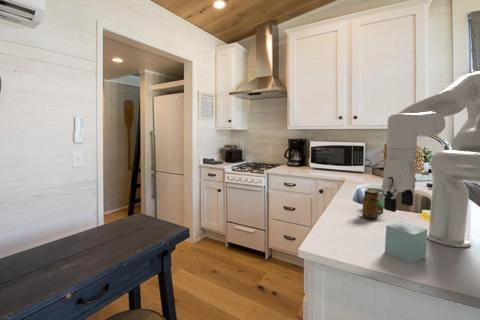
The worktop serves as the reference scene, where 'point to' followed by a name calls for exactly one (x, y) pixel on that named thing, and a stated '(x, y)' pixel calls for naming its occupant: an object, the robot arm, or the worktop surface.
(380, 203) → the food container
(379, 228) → the worktop surface
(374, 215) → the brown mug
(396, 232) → the mint green cube
